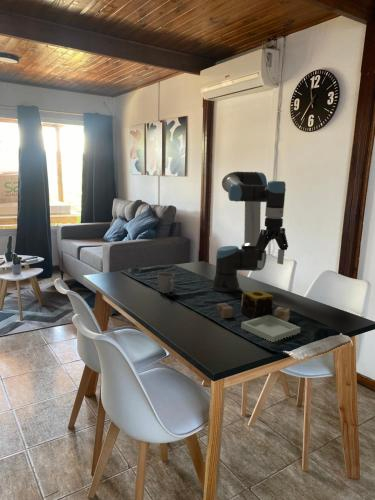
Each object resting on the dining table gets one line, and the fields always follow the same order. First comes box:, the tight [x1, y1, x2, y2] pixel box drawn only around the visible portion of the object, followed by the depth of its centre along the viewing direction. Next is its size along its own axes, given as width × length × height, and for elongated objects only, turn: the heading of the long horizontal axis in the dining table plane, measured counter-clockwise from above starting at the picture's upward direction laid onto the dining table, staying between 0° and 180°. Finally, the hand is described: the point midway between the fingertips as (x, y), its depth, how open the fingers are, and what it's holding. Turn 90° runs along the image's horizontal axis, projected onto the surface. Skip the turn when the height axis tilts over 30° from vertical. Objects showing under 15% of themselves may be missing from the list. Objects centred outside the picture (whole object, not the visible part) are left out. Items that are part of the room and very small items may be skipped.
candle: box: [240, 289, 274, 320], centre depth 164 cm, size 10×10×10 cm
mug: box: [157, 271, 175, 294], centre depth 193 cm, size 12×9×10 cm
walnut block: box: [216, 302, 234, 319], centre depth 164 cm, size 7×4×4 cm, turn 20°
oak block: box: [273, 306, 291, 322], centre depth 160 cm, size 5×5×5 cm
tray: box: [240, 315, 301, 343], centre depth 149 cm, size 16×16×2 cm
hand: (270, 265), depth 162 cm, fingers open, 13 cm apart
